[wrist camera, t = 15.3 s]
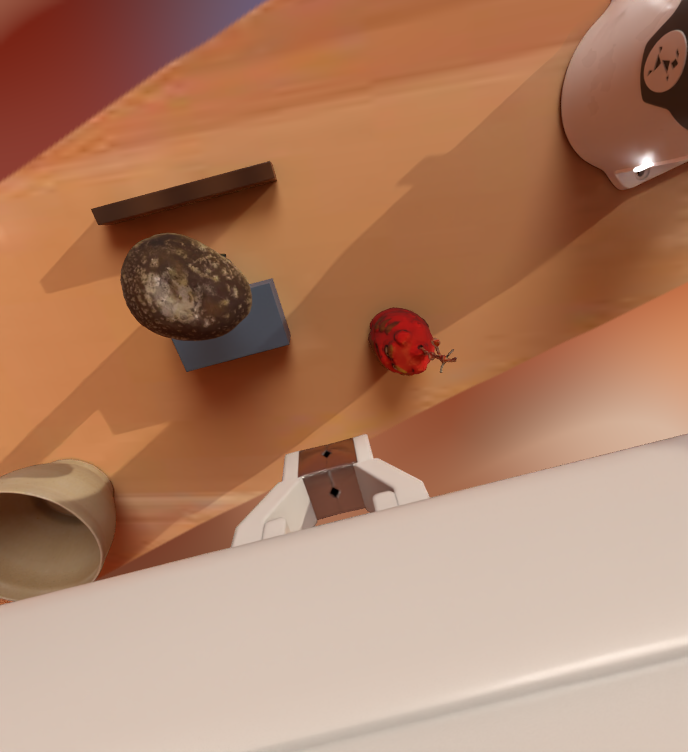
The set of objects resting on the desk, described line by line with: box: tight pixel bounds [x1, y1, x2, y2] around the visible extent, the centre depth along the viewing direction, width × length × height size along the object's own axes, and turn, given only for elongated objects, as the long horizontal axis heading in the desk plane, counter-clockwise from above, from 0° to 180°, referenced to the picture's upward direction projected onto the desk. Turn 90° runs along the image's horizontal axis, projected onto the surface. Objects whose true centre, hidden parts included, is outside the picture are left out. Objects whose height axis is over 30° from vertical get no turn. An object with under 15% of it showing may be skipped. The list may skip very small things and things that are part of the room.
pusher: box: [172, 279, 291, 372], centre depth 43 cm, size 12×7×4 cm, turn 104°
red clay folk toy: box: [368, 308, 457, 376], centre depth 40 cm, size 8×7×15 cm
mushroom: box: [121, 233, 252, 341], centre depth 35 cm, size 9×9×15 cm
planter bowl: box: [0, 459, 116, 601], centre depth 46 cm, size 16×16×11 cm
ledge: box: [91, 161, 277, 225], centre depth 38 cm, size 18×2×2 cm, turn 104°
